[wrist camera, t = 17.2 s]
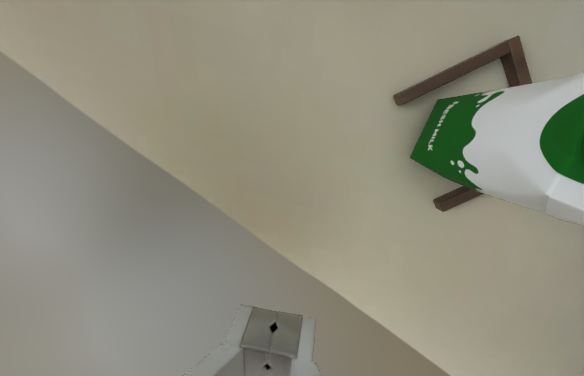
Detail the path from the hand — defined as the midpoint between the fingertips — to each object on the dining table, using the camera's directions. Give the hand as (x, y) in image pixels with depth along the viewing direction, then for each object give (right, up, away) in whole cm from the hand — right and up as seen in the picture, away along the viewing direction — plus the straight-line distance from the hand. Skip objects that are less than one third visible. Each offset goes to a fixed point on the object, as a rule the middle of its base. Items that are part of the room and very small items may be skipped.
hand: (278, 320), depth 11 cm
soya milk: (+19, +11, +21) cm, 30 cm away
